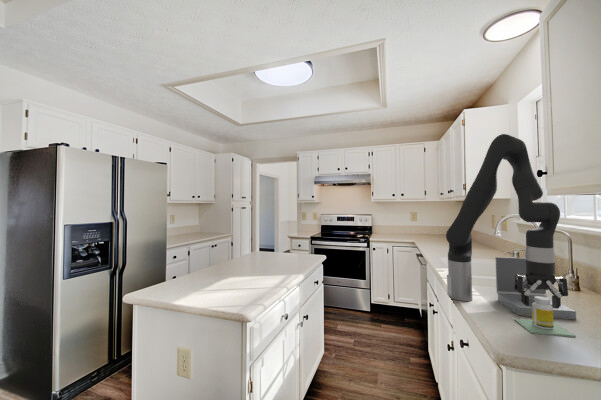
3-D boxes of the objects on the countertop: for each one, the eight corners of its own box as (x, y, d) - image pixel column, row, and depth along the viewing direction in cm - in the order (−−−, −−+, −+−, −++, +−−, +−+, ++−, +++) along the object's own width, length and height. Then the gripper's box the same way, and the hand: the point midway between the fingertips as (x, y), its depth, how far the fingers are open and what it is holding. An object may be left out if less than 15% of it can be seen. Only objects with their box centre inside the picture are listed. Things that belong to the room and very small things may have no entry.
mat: (531, 333, 85) (531, 331, 85) (514, 320, 95) (514, 318, 95) (575, 337, 83) (575, 335, 83) (553, 323, 92) (553, 321, 92)
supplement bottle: (558, 330, 86) (557, 300, 86) (542, 330, 86) (541, 301, 87) (543, 322, 92) (542, 295, 92) (528, 322, 92) (527, 295, 92)
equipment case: (519, 315, 99) (517, 266, 99) (496, 299, 116) (495, 257, 116) (576, 319, 95) (574, 267, 95) (544, 302, 111) (543, 258, 112)
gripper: (521, 261, 87) (522, 308, 87) (573, 263, 84) (574, 312, 84) (509, 256, 95) (510, 300, 94) (557, 258, 91) (558, 304, 91)
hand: (540, 306), depth 89 cm, fingers open, 8 cm apart
